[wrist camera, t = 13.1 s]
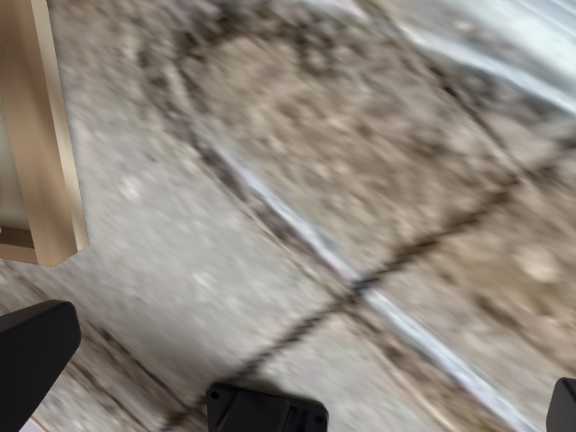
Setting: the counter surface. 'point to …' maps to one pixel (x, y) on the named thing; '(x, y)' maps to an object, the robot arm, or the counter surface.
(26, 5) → the brown rectangular tray
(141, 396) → the counter surface
